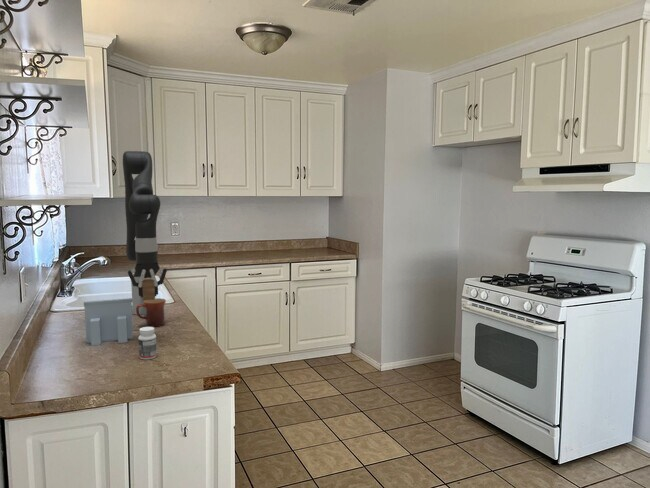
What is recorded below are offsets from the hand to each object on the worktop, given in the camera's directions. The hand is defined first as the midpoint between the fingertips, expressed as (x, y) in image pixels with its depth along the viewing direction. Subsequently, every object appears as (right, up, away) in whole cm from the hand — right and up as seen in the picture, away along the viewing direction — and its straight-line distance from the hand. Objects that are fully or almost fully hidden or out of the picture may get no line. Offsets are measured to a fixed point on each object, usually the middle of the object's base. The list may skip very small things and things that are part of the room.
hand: (148, 296), depth 181 cm
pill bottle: (+5, -19, -13) cm, 24 cm away
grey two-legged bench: (-15, -17, +3) cm, 23 cm away
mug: (-7, -15, +24) cm, 29 cm away
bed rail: (-1, 0, +3) cm, 3 cm away
